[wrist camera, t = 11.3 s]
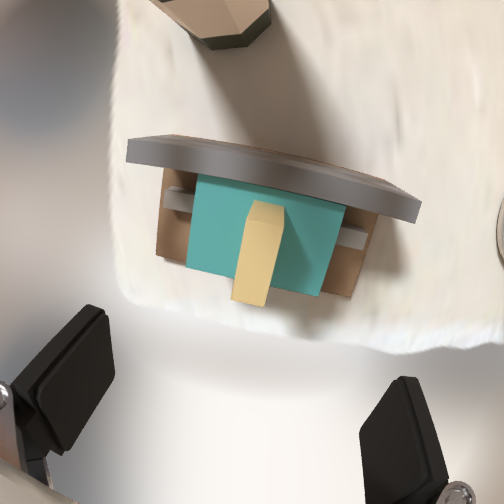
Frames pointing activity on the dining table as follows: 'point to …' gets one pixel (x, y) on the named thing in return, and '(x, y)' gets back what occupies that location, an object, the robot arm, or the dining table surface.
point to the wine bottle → (219, 20)
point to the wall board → (275, 176)
